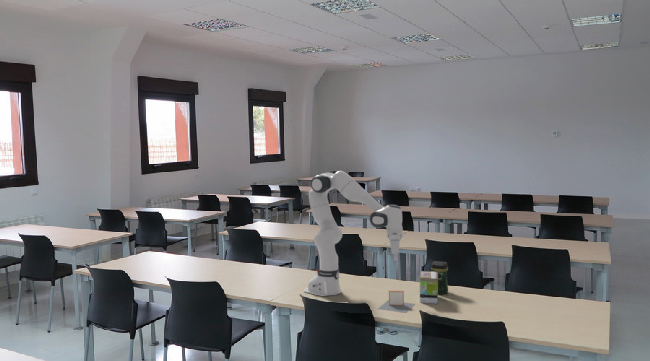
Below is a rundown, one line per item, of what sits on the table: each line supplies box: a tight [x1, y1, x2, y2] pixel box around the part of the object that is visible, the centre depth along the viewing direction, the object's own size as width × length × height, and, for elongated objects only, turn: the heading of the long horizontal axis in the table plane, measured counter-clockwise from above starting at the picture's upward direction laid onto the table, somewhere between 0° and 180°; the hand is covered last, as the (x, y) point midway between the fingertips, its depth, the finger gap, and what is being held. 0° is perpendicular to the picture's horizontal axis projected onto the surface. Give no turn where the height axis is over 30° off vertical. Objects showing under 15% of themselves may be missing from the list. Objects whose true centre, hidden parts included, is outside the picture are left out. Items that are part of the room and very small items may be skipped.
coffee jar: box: [430, 260, 449, 295], centre depth 307 cm, size 10×8×19 cm
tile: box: [388, 289, 405, 306], centre depth 284 cm, size 2×8×8 cm, turn 83°
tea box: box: [419, 270, 439, 305], centre depth 294 cm, size 15×10×15 cm, turn 168°
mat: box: [377, 299, 416, 314], centre depth 282 cm, size 16×16×1 cm
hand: (395, 258), depth 288 cm, fingers open, 8 cm apart
